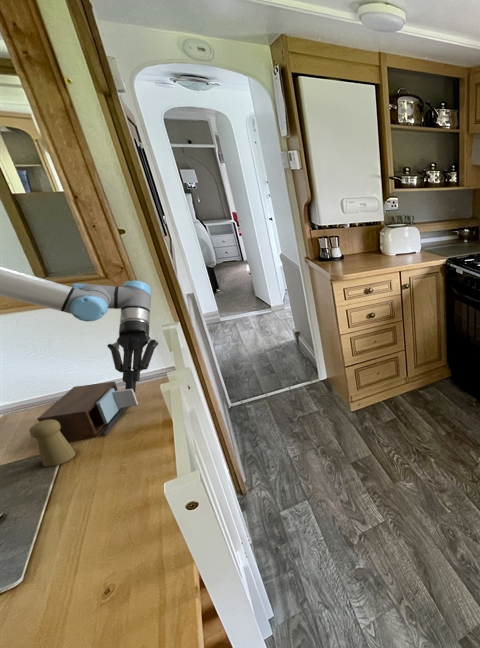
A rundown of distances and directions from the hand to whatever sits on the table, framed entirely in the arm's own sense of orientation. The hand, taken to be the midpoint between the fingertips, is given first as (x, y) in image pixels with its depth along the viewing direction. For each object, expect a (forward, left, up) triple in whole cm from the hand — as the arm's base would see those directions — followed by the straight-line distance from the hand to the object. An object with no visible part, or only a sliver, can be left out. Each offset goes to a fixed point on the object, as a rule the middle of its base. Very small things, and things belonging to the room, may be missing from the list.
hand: (130, 391), depth 118 cm
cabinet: (0, -10, -6) cm, 12 cm away
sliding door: (+4, -4, -5) cm, 7 cm away
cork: (+15, -19, -6) cm, 25 cm away
